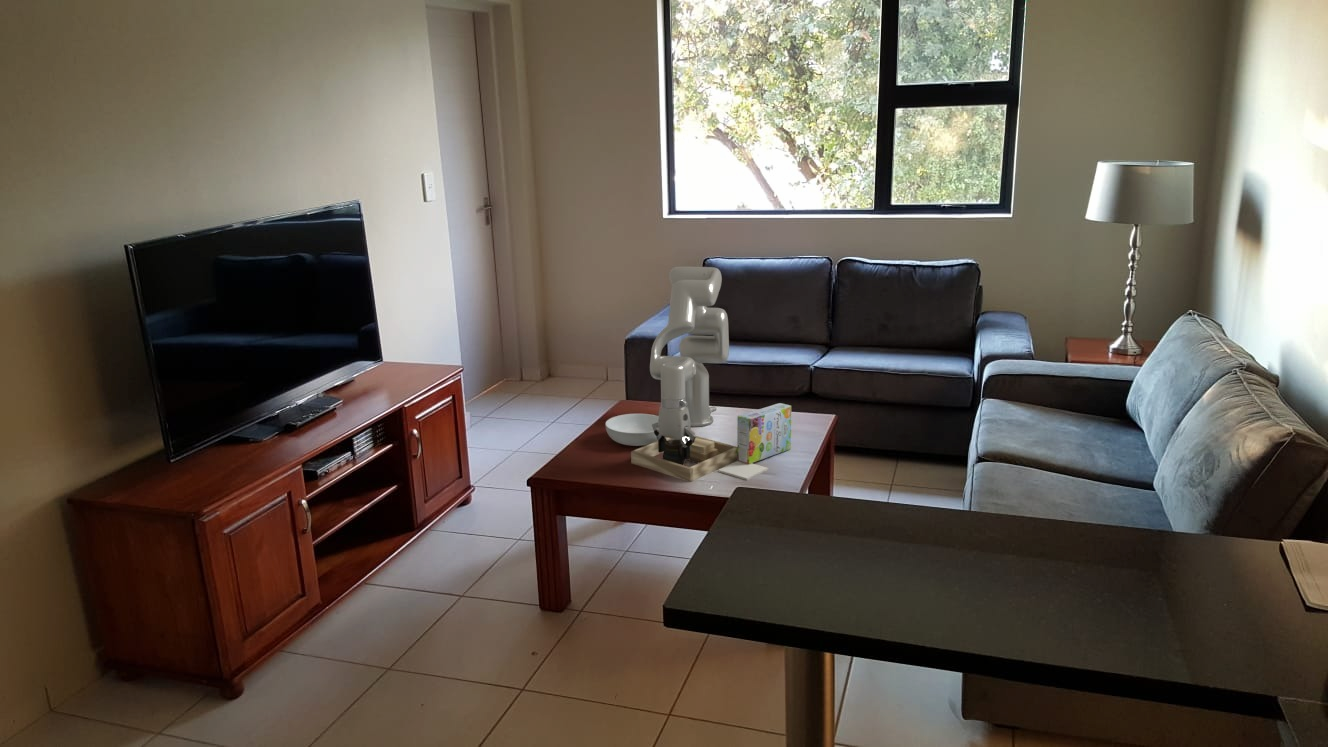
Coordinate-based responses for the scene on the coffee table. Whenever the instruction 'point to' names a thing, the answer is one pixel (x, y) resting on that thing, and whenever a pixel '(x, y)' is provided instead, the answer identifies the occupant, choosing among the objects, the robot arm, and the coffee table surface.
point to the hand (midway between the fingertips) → (674, 454)
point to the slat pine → (701, 445)
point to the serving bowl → (632, 429)
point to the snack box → (763, 433)
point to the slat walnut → (695, 459)
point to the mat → (743, 470)
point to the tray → (647, 460)
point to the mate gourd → (673, 451)
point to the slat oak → (704, 454)
